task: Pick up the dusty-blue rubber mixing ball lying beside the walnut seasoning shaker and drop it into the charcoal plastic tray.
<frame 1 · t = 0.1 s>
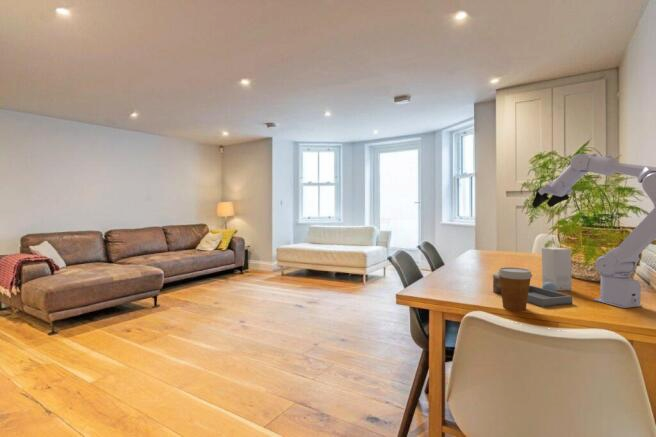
hand: (541, 205, 136), 32 cm above the table, tool tilted 50°, fingers open, 7 cm apart
ball: (549, 293, 123), on the table
shaker: (500, 292, 125), on the table
disposable coffee cup: (514, 308, 106), on the table
skincare box: (555, 288, 131), on the table
tray: (536, 299, 116), on the table
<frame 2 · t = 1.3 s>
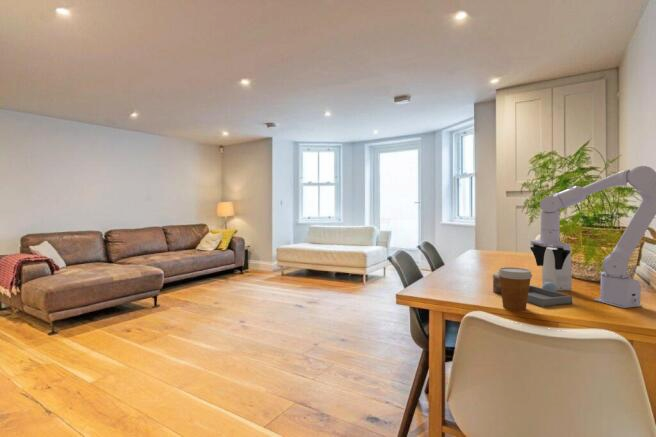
hand: (549, 267, 122), 10 cm above the table, tool pointing down, fingers open, 7 cm apart
nothing on the table moved.
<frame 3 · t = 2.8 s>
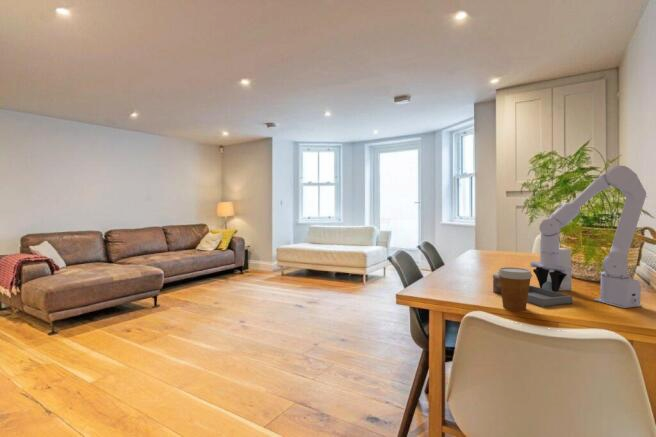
hand: (549, 290, 122), 1 cm above the table, tool pointing down, fingers closed on ball, 4 cm apart
ball: (549, 293, 122), on the table, touching gripper
everything else where it was.
when the fingers open (3 cm above the table, at t = 5.2 s): ball drops 1 cm, resting on tray.
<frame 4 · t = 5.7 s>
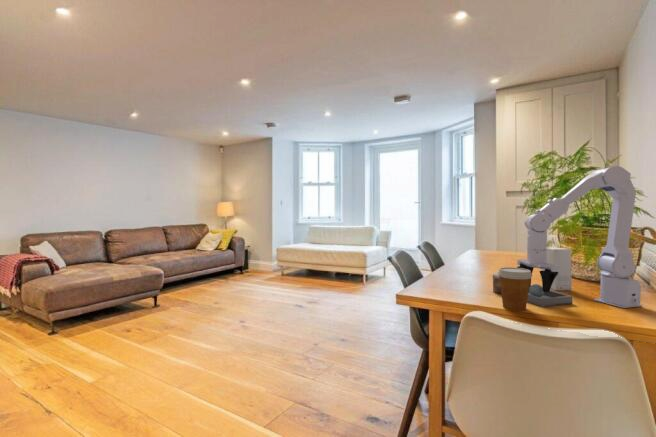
hand: (536, 289, 116), 3 cm above the table, tool pointing down, fingers open, 7 cm apart
ball: (536, 297, 116), point 1 cm above the table, touching tray
everything else where it was.
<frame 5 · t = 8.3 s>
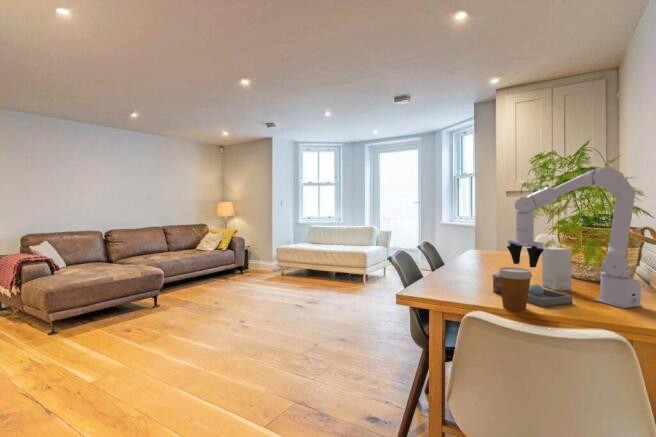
hand: (524, 265, 128), 9 cm above the table, tool pointing down, fingers open, 7 cm apart
nothing on the table moved.
at the end: ball inside the target area on the tray (0.1 cm from its centre), point 0.6 cm above the tray's base; the gripper is holding nothing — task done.
